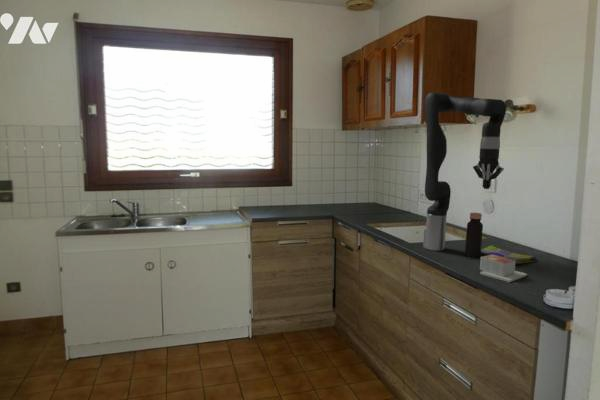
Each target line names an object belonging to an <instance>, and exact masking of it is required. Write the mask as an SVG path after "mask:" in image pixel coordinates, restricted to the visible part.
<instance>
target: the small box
mask: <svg viewBox="0 0 600 400" xmlns="http://www.w3.org/2000/svg"><path fill="white" fill-rule="evenodd" d="M515 263H516V261H515V260H512V259H508V258H504V257H501V256H497V255H493V254H492V255H488V256H480V264H479V270H480V271H486V272H489V273H492V274H496V275H499V276H502V277H504V276H507V275H510V274H514V273H515V271H516V265H515Z"/></svg>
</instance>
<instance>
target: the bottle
mask: <svg viewBox="0 0 600 400" xmlns="http://www.w3.org/2000/svg"><path fill="white" fill-rule="evenodd" d="M481 220H482V213H481V212H470V213H469V222H467V224H466V234H465V236H466V237H465V245H464V246H465V249H464V255H465V256H466V257H468V258H469V257H470V258H481V256H480V255H481V249H482V243H483V241H482V239H483V230H484V228H483V227H484V225H483V222H481Z"/></svg>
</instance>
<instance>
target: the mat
mask: <svg viewBox="0 0 600 400" xmlns="http://www.w3.org/2000/svg"><path fill="white" fill-rule="evenodd" d="M479 275H482V276H485V277H489V278H492V279H496V280H500V281H503V282H507V283H511V282H514V281H517V280H519V279H521V278H525V277H527V276H528V273H525V272H522V271H518V270H515V273H514V274H510V275H507V276H504V277H502V276H499V275H496V274H492V273H489V272H486V271H483V270H481V271H480V272H479Z"/></svg>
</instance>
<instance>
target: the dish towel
mask: <svg viewBox="0 0 600 400" xmlns="http://www.w3.org/2000/svg"><path fill="white" fill-rule="evenodd" d="M492 254H493V255H497V256H501V257H504V258H508V259H512V260H515V261H516V263H515V266H516V265H520V264H521V265H522V264H525V263H531V262H536V261H538V260H537V257H536V256H535V255H526V254H521V253H516V252H512V251H509V250H506V249H502V248H498V247H496V246H493V245H489V246H486V247H484V248H481V255H480V257H483V256H488V255H492Z"/></svg>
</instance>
